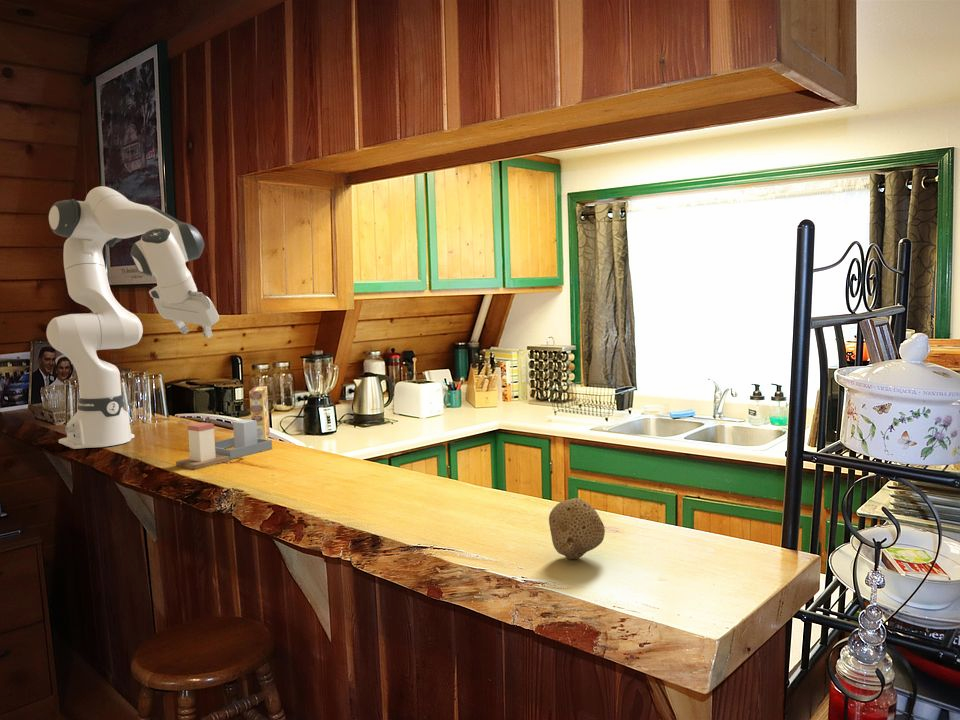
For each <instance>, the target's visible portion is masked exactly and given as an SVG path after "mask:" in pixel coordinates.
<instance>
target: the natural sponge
mask: <svg viewBox="0 0 960 720" xmlns="http://www.w3.org/2000/svg"><path fill="white" fill-rule="evenodd" d="M548 524H549V530H550V535H551V541H552V545H553V548H554V549H555V551H556V552H557V553H558V554H559V555H561V556H564V557H565V558H567V559H569V560H577V559H579V558H582V557H583V556H584V555H585V554H586V553H587V552H590V551H592V550H594V549H596V548H597V547H599V546H600V545H601V544H602V542H603V541H604V537H605V531H606V530H605V528H606V527H605V525H604V522H603V520H602V519H601V517H600V516H599V514H598V512H597V511H596V509H595V508H594V507H593V506H592V505H591V504H590V503H589V502H587V501H585V500H584V499H581V498H576V497H573V498H570V499H566V500H562V501H560V502H558V503H557V504H556V505H555V506H554V507H553V508H552V510H551V511H550V513H549V516H548Z"/></svg>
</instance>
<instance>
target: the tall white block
mask: <svg viewBox="0 0 960 720" xmlns="http://www.w3.org/2000/svg"><path fill="white" fill-rule="evenodd" d="M232 426H233V438H234V448H239V447H243V446H247V445H251V444H256V443H258V438H257V421H255V420H251V419H241V420H236V421H232Z"/></svg>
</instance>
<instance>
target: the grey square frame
mask: <svg viewBox="0 0 960 720" xmlns="http://www.w3.org/2000/svg"><path fill="white" fill-rule="evenodd" d="M231 446H234V437H230V438H225V439H221V440H220V439H219V440H216V441H215V454H217V455H223V456H229V457H230V460H234V459H237V457H238V458H241V456H242V457H245V456H249V455H253V454H258V453H261V452H260V451H262V452H265V451H264V450H266V451H269V450H268V449H270V450H273V440H272V439H268V438H267V439H260V438H258V443H256V444H251V445H247V446H243V447H239V448H235V446H234V447H233V448H232V447H231ZM227 447H230V448H231V449H230V448H227ZM224 448H226V449H224ZM257 452H258V453H257ZM233 458H234V459H233Z"/></svg>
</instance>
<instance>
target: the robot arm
mask: <svg viewBox="0 0 960 720" xmlns="http://www.w3.org/2000/svg"><path fill="white" fill-rule="evenodd" d="M48 224H49V228H50V229H51V231H52V232H53V233H54V234H55V235H58V236H60V237H63V238H67V239H66V240H65V241H64V244H63V255H62V256H63V257H62V258H63V267H64V269H63V270H64V274H65V282H66V287H67V292H68V293H67V294H68V295H69V297H70V298H71V299H72V300H73V301H74V302H75V303H77V304H80V305H82V306H85V307H87V308H88V309H89V310H91V312H88V313H86V312H85V313H69V314H64V315H60V316H56V317H54V318H52V319H51V320H50V321H49V323H48V324H47V327H46V338H47V341H48V343H49V344H50V346H51V347H52V348H53V349H55V350H56V351H58V352H59V353H61V354H62V355H64V356H65V357H66V358H67V359H68V360H69V361H70V363H71V364H72V365H73V367H74V369H75V372H76V375H77V381H78V387H79V396H80V397H79V398H78V399H77V401H78V402H76V404H77V412H75V414H74V415H73V416H72V417H70V419H69V420H68V421H67V423H66V425H65V429H64V430H65V432H66V437H63V438H62V437H61V438H60V439H58V443H59V444H60V445H61V444H62V445H64V446H65V447H69V448H70V449H73V450H76V449H78V450H79V449H86V448H87V449H88V448H89V449H90V448H104V447H110V446H117V445H123V444H125V443H128V442H130V441H131V440H132V439H135V434H134V433H132V431H131V430H132V429H131V426H130V419H129V414H128V411H127V410H125V409H124V407H125V399H124V394H122V383H121V373H120V370H119V368H118V367H117V366H116V365H115V364H112V363H110V362H109V361H108V362H107V361H105V360H103V359H100V358H99V357H98V353H97V351H100V350H101V351H102V350H103V351H104V350H115V349H117V350H118V349H124V348H128V347H130V346H134V345H135V346H136V345H137V344H138V343H139V342H140V341H141V339H142V337H143V333H144V327H143V324H142V322H141V320H140V318H139V317H138V316H137V315H136V314H135V313H133V312H131V311H130V310H128V309H126V308H125V307H123V306H122V305H121V304H120V302H119V301H118V300H117V299H116V298H115V296H114V294H113V292H112V290H111V287H110V283H109V279H108V274H107V268H106V264H105V260H104V255H103V248H104V246H105V244H106V246H108V247H110V248H113V247H114V246H115V244H116V243H119V242H121V241H122V240H124V239H131V238H135V237H137V236H141V237H140V240H138V241H136V242H135V243H133V245H132V247H131V250H130V253H129V254H130V257H131V259H132V261H133V263H134V266H135V269H136V271H137V272H138V273H140V274H143V275H146V276H150V277H155V280H156V286H154V287H153V288H152V289H149V291H148V293H149V296H150V297H151V298H153V303H154V306H155V308H156V310H157V312H158V313H159V315H160V316H161V317H162V319H165V320H171V321H172V322H173V324H174V325H175V326H176V327H177V328H178V330H179V331H180V333H181V334H184V335H185V334H187V333H189V332H190V329H189V326H188V325H186V324H193V325H200V326H201V328H203V331H202V334H203V337H204V338H207V339H210V338H211V337H213V335H214V334H213V331H212V328H213V327H212V326H214V325H215V324H216V323H218V322H219V320H220V315H219V313H218V311H217V309H216V307H215V305H214V303H213V301H212V300H211V299H210V297H208V296H207V295H205V294H204V293H203V292H202V291H201V292H200V291H198V288H197V284H196V283H195V280H194V278H193V275H192V273H191V271H190V270H189V268H188V267H187V265H186V263H188V262H191V261H193V260H197V259H199V258H200V257H201V255H202V254H203V252H204V248H205V241H204V238H203V236H202V235H201V233H200V231H199V230H198V228H196V227H195V226H193V225H192V224H189V223H187V222H183V221H180V220H179V219H177V218H175V217H174V216H172V215H170V214H168V213H166V212H165V211H163V210H161V209H159V208H157V207H155V206H152V205H148V204H141V203H137V202H133V201H131V200H130V199H128V198H127V197H126V196H125V195H124V194H122V193H120V192H119V191H117V190H115V189H113V188H111V187H108V186H103V185H102V186H97V187H94V188H92V189H91V190H89V192H88V193H87V194H86V197H85V200H83V201H82V200H76V199H75V198H72V199H64V200H59V201H56V202H55V203H53V204H52V205H51V207H50V208H49V212H48ZM185 323H186V324H185Z"/></svg>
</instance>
